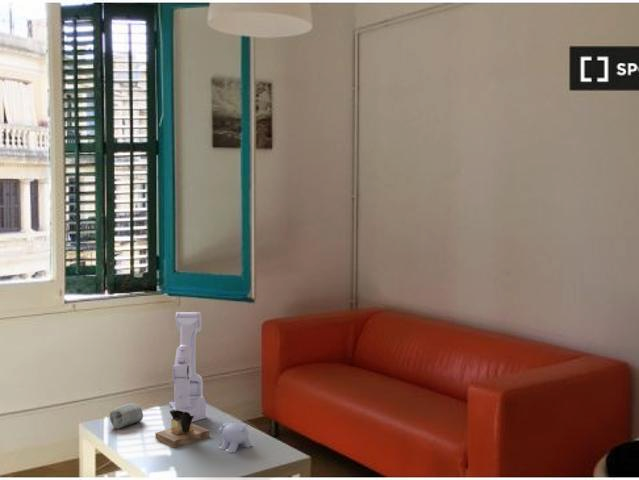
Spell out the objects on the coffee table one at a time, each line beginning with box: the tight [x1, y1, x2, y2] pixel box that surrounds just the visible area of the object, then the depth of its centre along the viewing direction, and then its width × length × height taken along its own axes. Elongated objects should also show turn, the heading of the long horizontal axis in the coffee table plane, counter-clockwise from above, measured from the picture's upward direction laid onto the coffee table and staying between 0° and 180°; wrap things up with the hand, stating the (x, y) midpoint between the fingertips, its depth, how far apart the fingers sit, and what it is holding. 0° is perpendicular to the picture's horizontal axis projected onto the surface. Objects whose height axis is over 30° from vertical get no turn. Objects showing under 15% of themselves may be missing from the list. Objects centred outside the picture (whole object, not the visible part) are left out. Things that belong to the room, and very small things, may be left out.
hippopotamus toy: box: [218, 422, 253, 454], centre depth 278 cm, size 11×15×10 cm
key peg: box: [170, 417, 193, 436], centre depth 286 cm, size 4×6×7 cm, turn 134°
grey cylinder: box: [109, 402, 144, 430], centre depth 300 cm, size 14×10×10 cm
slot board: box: [154, 422, 211, 449], centre depth 286 cm, size 16×12×2 cm
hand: (182, 430), depth 286 cm, fingers closed on key peg, 4 cm apart
